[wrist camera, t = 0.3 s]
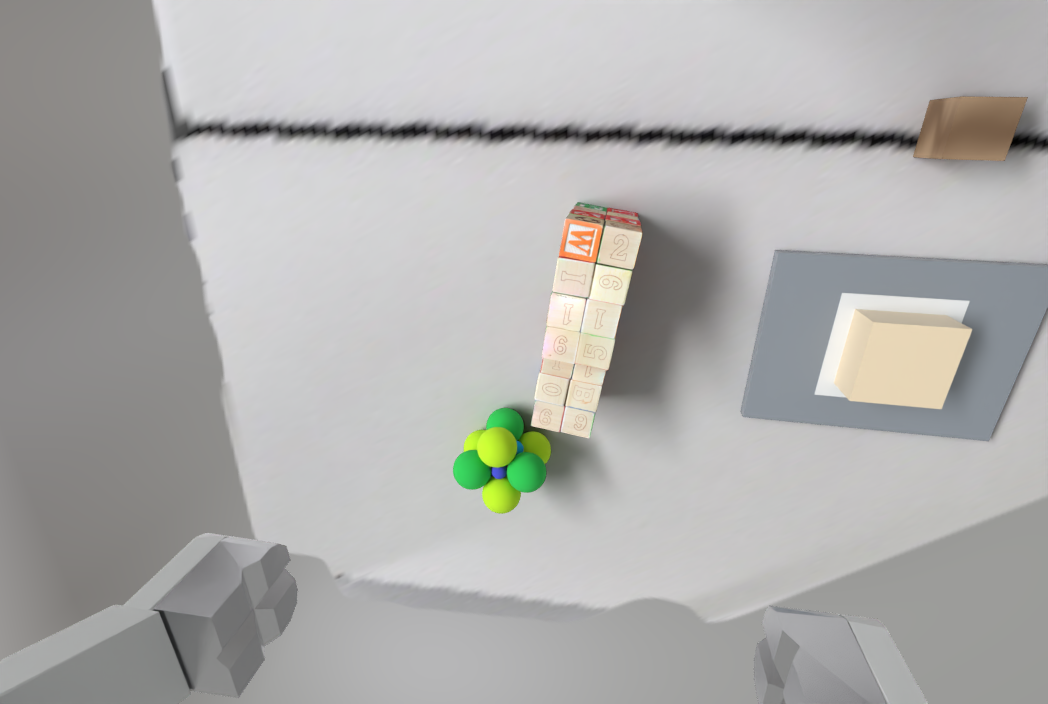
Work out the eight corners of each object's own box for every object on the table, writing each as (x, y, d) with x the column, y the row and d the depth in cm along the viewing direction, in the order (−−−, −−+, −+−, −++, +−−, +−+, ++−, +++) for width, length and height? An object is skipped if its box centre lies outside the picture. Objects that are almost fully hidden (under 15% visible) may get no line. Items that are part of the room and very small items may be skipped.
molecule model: (506, 394, 61) (462, 437, 65) (490, 433, 53) (440, 479, 57) (560, 441, 62) (513, 480, 66) (552, 485, 54) (499, 528, 58)
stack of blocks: (593, 397, 59) (587, 457, 48) (540, 385, 60) (523, 442, 49) (638, 211, 51) (644, 232, 40) (576, 199, 51) (565, 217, 40)
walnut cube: (929, 100, 43) (961, 96, 39) (988, 101, 43) (1027, 97, 39) (912, 157, 45) (941, 158, 41) (969, 158, 44) (1004, 160, 40)
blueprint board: (774, 250, 50) (791, 261, 45) (1054, 264, 46) (1104, 279, 42) (740, 411, 57) (751, 436, 52) (981, 434, 53) (1016, 463, 49)
